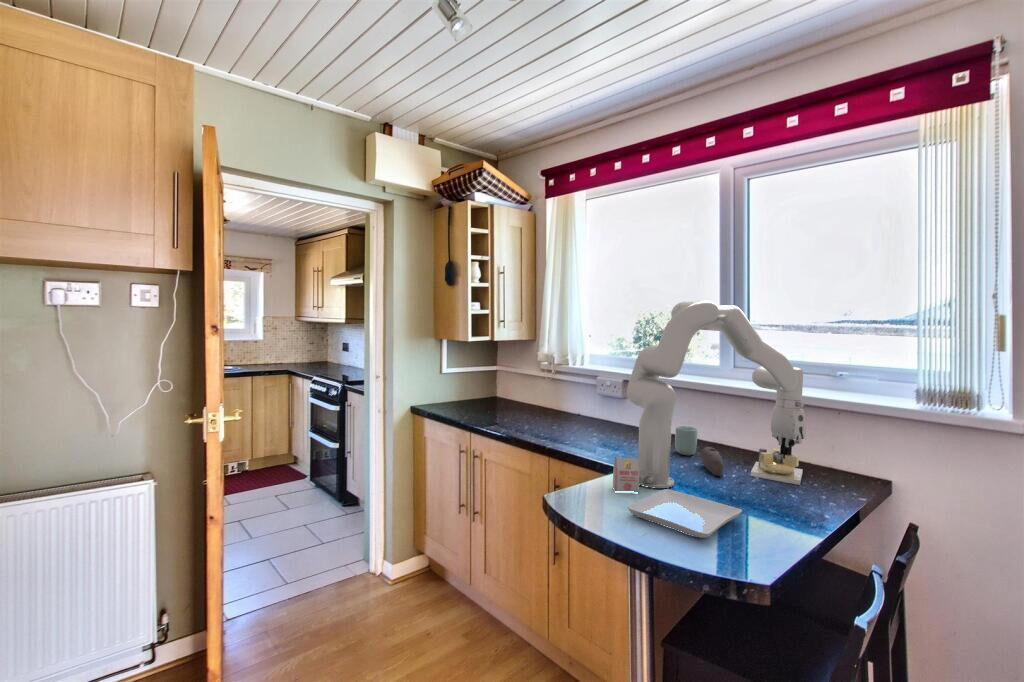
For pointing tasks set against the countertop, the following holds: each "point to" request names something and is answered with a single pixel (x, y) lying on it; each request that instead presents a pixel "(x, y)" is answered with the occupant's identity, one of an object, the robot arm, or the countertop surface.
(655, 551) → the countertop surface
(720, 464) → the brown oval lump
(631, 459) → the printed carton box
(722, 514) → the salad plate
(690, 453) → the cup
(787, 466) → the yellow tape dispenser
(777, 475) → the housing
